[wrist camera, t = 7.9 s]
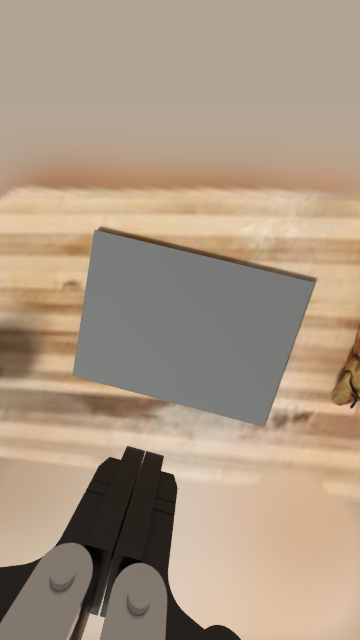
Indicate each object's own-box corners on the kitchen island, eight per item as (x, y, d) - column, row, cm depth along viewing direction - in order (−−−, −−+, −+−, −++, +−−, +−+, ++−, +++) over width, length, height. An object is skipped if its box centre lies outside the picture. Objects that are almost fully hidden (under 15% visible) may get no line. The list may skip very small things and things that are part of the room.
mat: (312, 282, 28) (314, 282, 28) (262, 423, 32) (263, 426, 32) (96, 230, 29) (94, 229, 29) (74, 373, 34) (72, 375, 33)
